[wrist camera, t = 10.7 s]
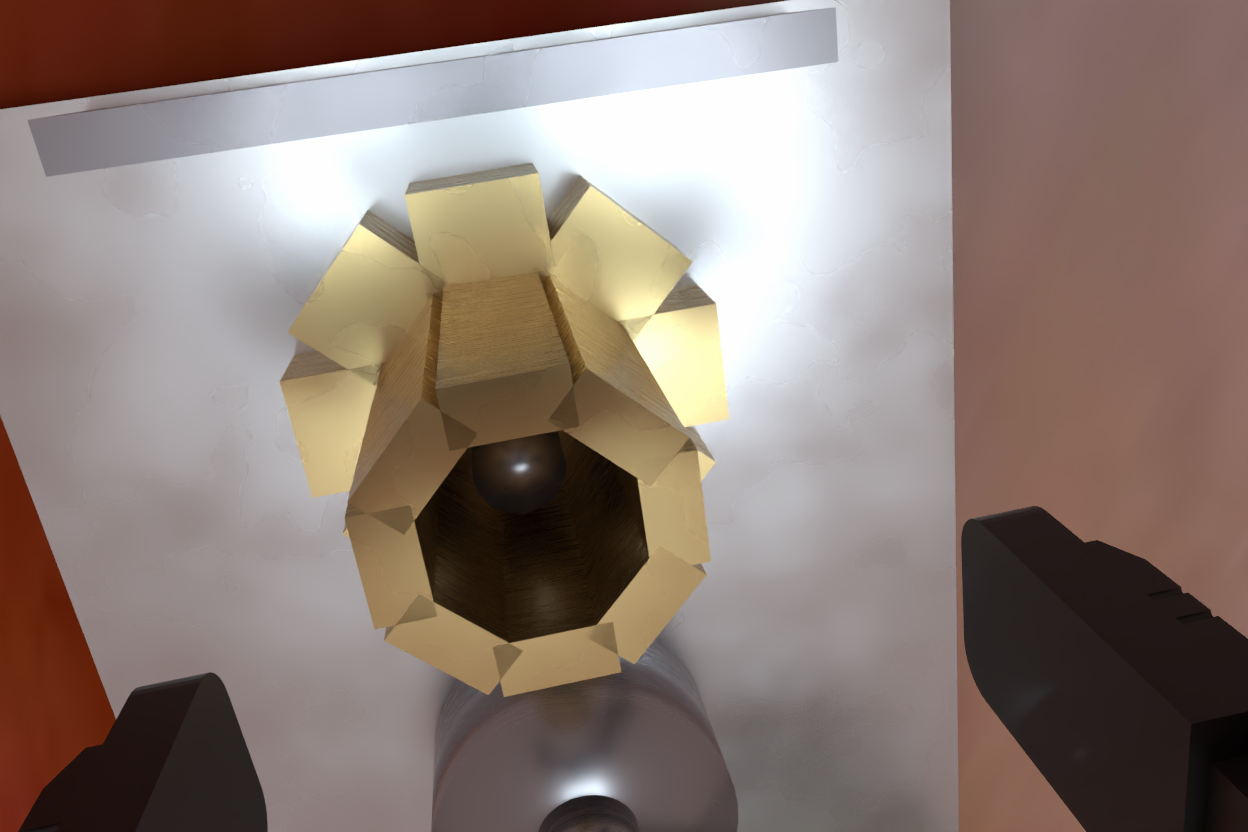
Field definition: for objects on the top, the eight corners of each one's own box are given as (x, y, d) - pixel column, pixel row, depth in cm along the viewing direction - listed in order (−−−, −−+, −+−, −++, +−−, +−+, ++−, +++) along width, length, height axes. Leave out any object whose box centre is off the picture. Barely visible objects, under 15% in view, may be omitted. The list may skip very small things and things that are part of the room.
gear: (679, 139, 18) (801, 188, 12) (723, 512, 21) (841, 721, 14) (254, 208, 17) (130, 302, 11) (357, 584, 20) (306, 839, 14)
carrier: (920, -19, 19) (1099, -45, 14) (938, 838, 26) (1057, 1035, 21) (-74, 119, 17) (-311, 150, 12) (247, 994, 25) (189, 1250, 19)
